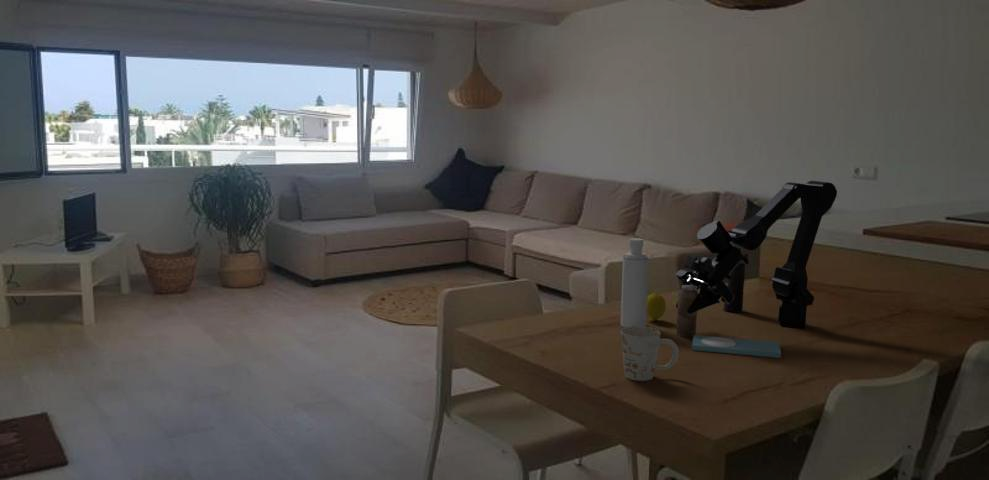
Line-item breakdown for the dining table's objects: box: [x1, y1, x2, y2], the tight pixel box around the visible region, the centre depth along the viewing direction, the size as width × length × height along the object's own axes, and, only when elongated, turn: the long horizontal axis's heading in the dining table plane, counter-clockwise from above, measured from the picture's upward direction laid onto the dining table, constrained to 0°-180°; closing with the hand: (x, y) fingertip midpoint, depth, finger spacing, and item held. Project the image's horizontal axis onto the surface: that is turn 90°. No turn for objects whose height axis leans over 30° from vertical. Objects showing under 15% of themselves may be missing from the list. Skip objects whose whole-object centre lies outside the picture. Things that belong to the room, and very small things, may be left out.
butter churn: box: [722, 214, 747, 313], centre depth 216 cm, size 9×10×28 cm
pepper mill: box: [676, 284, 699, 338], centre depth 192 cm, size 5×5×13 cm
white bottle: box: [620, 237, 650, 328], centre depth 200 cm, size 7×7×25 cm
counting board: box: [691, 334, 782, 359], centre depth 182 cm, size 20×9×1 cm, turn 73°
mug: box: [620, 326, 680, 382], centre depth 161 cm, size 8×13×10 cm, turn 95°
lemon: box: [646, 291, 666, 322], centre depth 206 cm, size 6×6×8 cm
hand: (682, 310), depth 192 cm, fingers closed on pepper mill, 5 cm apart
